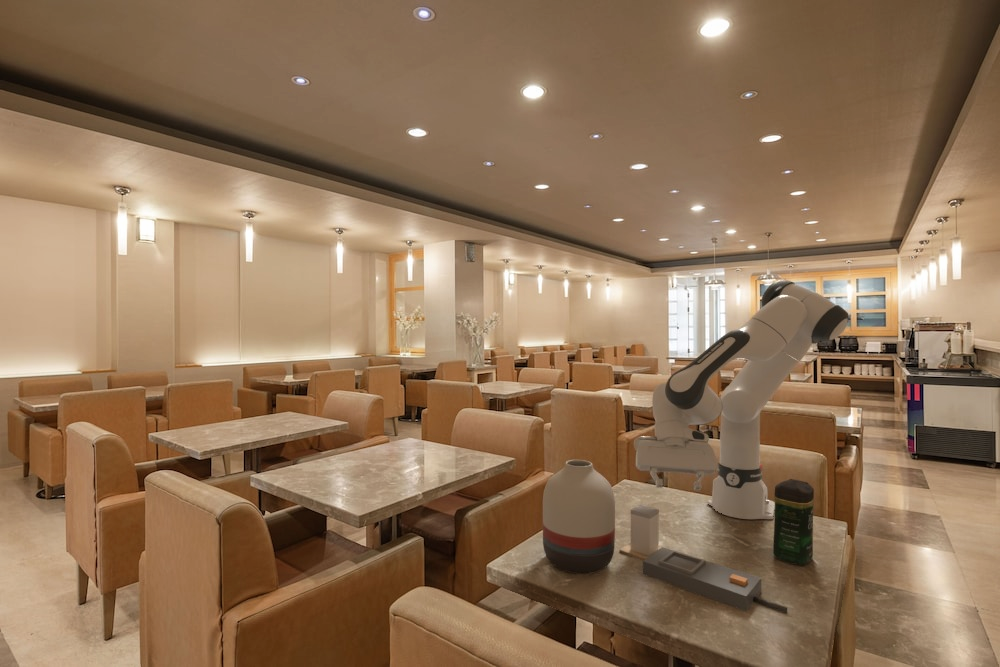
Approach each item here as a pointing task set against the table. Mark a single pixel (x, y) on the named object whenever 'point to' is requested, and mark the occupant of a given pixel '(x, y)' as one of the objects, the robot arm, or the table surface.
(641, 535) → the block
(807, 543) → the coffee jar
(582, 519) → the vase
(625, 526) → the table surface
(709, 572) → the power strip
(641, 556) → the coaster
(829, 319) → the robot arm
